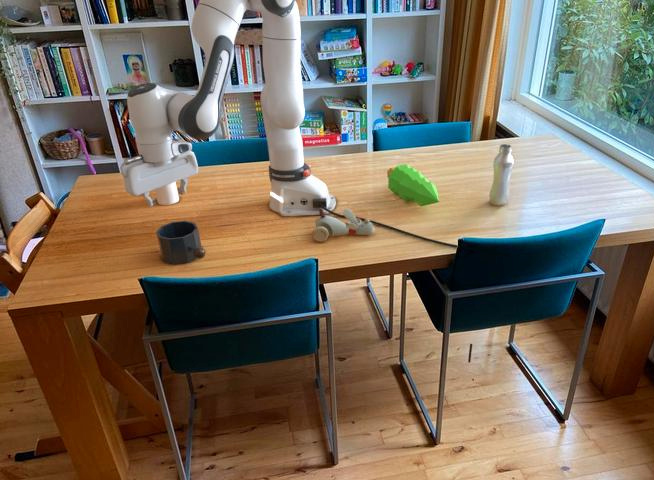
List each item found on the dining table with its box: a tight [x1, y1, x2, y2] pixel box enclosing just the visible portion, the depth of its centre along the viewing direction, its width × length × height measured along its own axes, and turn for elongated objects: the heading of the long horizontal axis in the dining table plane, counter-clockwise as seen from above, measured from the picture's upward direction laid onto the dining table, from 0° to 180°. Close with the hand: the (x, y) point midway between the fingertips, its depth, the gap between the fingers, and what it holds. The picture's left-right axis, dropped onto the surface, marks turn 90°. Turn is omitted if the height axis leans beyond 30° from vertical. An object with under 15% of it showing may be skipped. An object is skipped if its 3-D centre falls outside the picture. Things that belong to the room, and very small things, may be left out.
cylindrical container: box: [154, 181, 180, 206], centre depth 183 cm, size 7×7×25 cm
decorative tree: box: [386, 163, 440, 208], centre depth 184 cm, size 11×12×30 cm
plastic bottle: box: [488, 143, 514, 206], centre depth 180 cm, size 6×7×20 cm
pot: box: [155, 220, 206, 265], centre depth 154 cm, size 8×11×17 cm
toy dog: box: [312, 208, 375, 243], centre depth 165 cm, size 12×19×9 cm, turn 114°
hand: (167, 199), depth 148 cm, fingers open, 8 cm apart
